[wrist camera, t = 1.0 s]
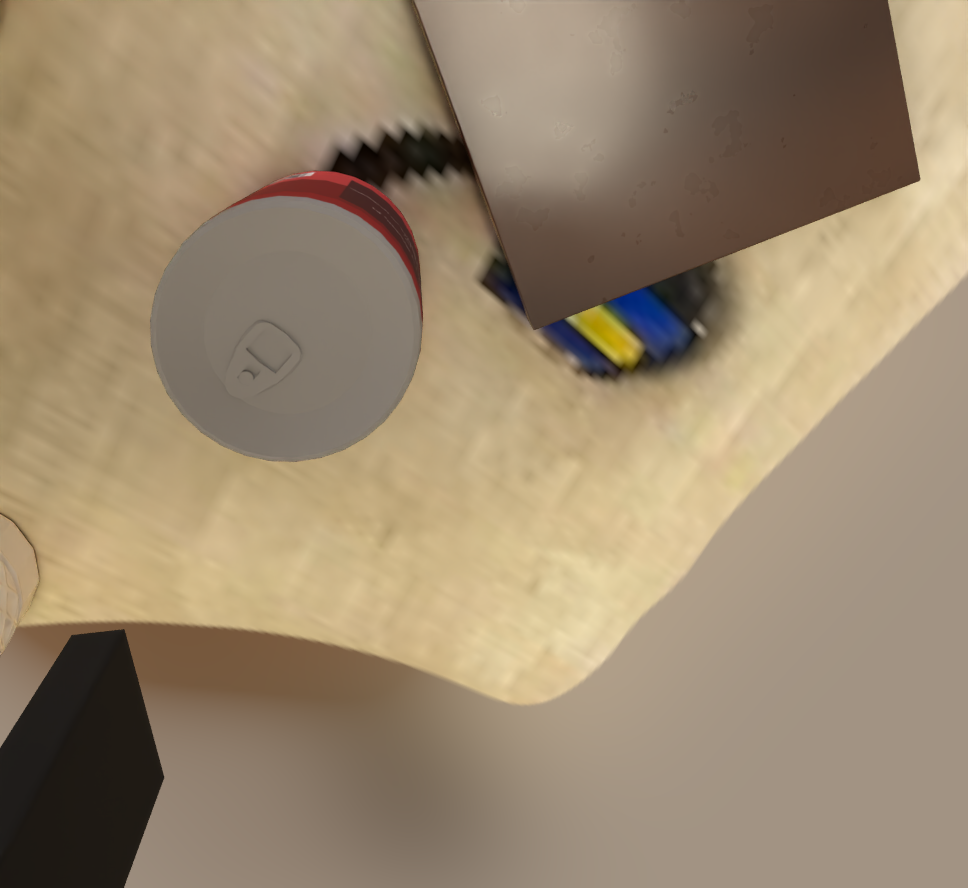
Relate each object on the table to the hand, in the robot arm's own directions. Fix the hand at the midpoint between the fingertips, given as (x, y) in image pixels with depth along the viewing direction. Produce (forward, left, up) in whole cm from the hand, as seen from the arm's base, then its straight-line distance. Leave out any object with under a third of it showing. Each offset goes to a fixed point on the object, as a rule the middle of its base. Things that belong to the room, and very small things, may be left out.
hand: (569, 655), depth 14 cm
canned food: (-3, -5, -25) cm, 26 cm away
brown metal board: (-5, +10, -25) cm, 27 cm away
